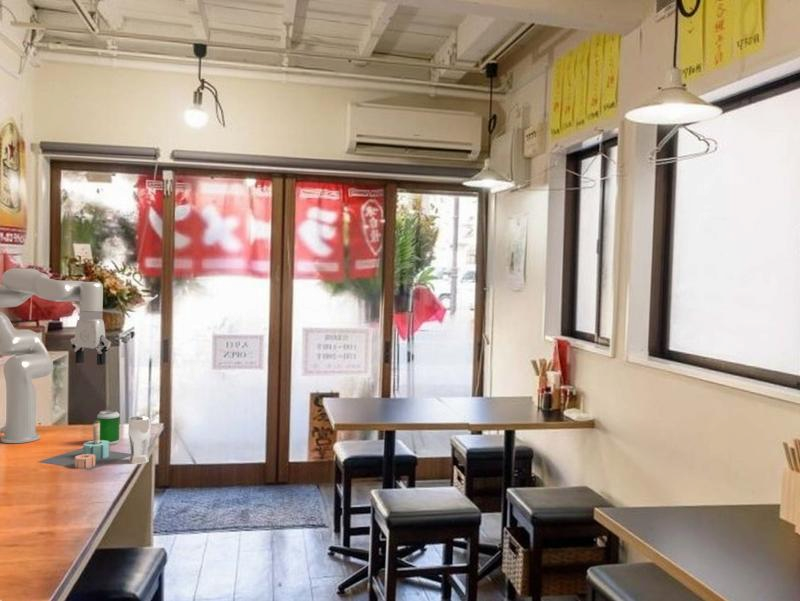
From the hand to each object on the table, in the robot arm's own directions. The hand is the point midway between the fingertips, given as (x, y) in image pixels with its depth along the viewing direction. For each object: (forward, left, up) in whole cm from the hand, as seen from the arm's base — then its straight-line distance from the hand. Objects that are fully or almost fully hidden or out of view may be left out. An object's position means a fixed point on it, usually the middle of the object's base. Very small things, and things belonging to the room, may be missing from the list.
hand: (90, 363), depth 231 cm
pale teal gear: (+12, -9, -30) cm, 33 cm away
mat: (+11, -12, -30) cm, 34 cm away
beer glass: (+29, -8, -31) cm, 43 cm away
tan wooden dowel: (+12, -9, -30) cm, 33 cm away
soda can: (+3, +6, -31) cm, 31 cm away
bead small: (+17, -19, -30) cm, 39 cm away
